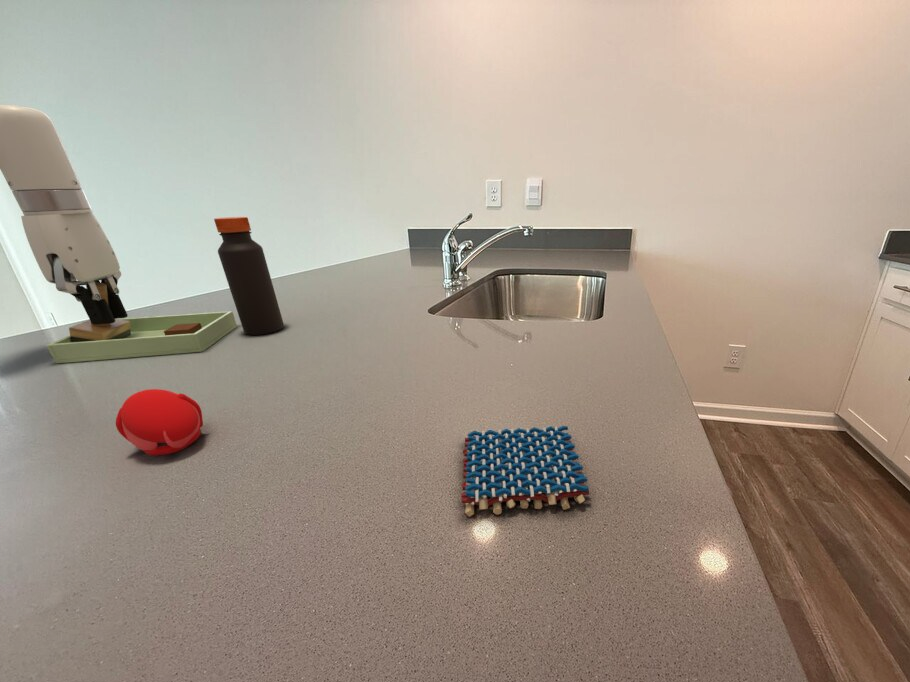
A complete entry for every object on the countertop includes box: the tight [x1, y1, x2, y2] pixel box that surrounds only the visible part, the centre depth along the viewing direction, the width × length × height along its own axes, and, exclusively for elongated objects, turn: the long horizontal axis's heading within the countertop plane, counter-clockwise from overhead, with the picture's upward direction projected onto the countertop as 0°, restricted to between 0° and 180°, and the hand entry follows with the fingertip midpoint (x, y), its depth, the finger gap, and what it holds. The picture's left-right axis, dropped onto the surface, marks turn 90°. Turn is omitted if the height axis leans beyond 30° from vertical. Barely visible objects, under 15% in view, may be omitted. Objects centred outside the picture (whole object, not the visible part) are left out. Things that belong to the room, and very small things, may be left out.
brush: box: [68, 282, 131, 343], centre depth 69 cm, size 7×4×10 cm, turn 11°
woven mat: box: [460, 424, 590, 518], centre depth 37 cm, size 10×11×2 cm
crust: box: [164, 323, 202, 336], centre depth 73 cm, size 4×4×2 cm
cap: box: [115, 388, 204, 456], centre depth 42 cm, size 8×6×6 cm
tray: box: [45, 310, 238, 364], centre depth 72 cm, size 21×14×3 cm
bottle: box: [213, 216, 285, 336], centre depth 74 cm, size 7×7×20 cm
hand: (110, 319), depth 70 cm, fingers closed on brush, 2 cm apart
